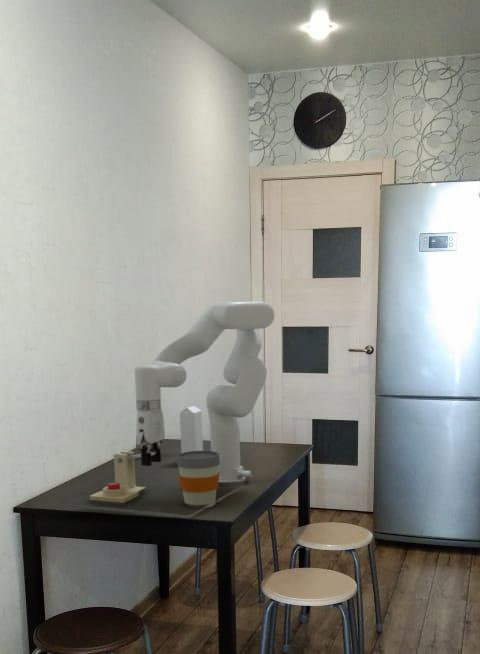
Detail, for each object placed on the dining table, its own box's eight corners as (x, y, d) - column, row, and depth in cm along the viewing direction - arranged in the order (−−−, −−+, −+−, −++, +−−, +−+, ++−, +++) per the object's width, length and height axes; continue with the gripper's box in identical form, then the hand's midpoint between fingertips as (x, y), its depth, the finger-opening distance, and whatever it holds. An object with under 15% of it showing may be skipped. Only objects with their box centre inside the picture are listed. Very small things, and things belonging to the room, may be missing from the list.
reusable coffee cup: (226, 507, 247) (224, 457, 245) (184, 511, 244) (181, 460, 241) (215, 497, 259) (213, 449, 257) (174, 501, 256) (172, 452, 253)
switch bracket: (146, 490, 270) (144, 451, 268) (133, 496, 263) (131, 456, 260) (119, 488, 274) (116, 449, 272) (105, 494, 267) (103, 454, 264)
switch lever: (158, 456, 264) (156, 448, 264) (150, 459, 260) (148, 451, 260) (125, 461, 269) (123, 453, 269) (117, 464, 265) (115, 457, 265)
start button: (122, 488, 259) (121, 482, 259) (115, 491, 256) (115, 485, 255) (112, 487, 260) (111, 481, 260) (105, 490, 257) (105, 484, 257)
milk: (203, 461, 312) (201, 402, 308) (196, 464, 307) (194, 404, 303) (188, 460, 315) (186, 401, 311) (181, 463, 309) (179, 403, 305)
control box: (139, 498, 260) (138, 486, 260) (123, 506, 252) (123, 492, 251) (105, 495, 265) (105, 483, 264) (89, 502, 257) (88, 490, 256)
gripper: (145, 409, 250) (148, 470, 254) (172, 402, 266) (175, 458, 269) (123, 408, 253) (126, 468, 257) (151, 401, 269) (154, 457, 272)
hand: (151, 463), depth 263 cm, fingers closed on switch lever, 5 cm apart
